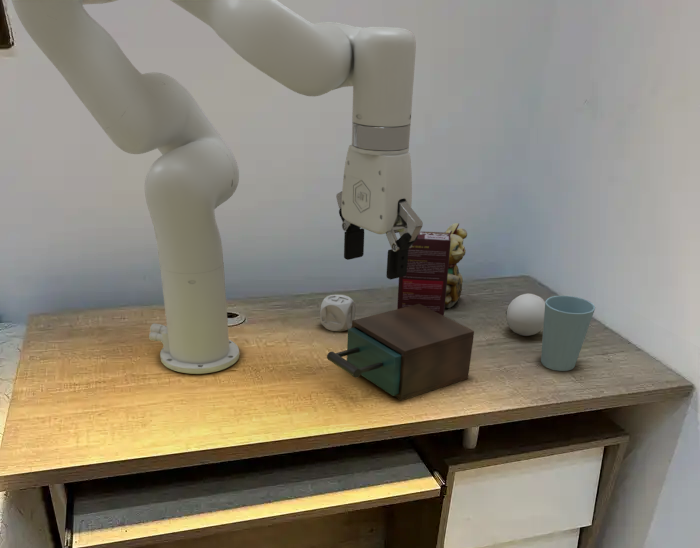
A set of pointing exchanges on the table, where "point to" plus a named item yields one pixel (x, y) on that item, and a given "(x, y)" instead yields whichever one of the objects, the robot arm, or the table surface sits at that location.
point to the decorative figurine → (455, 264)
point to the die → (337, 312)
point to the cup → (564, 330)
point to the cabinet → (422, 347)
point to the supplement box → (426, 272)
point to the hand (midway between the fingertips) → (374, 267)
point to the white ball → (526, 314)
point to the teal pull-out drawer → (370, 361)
